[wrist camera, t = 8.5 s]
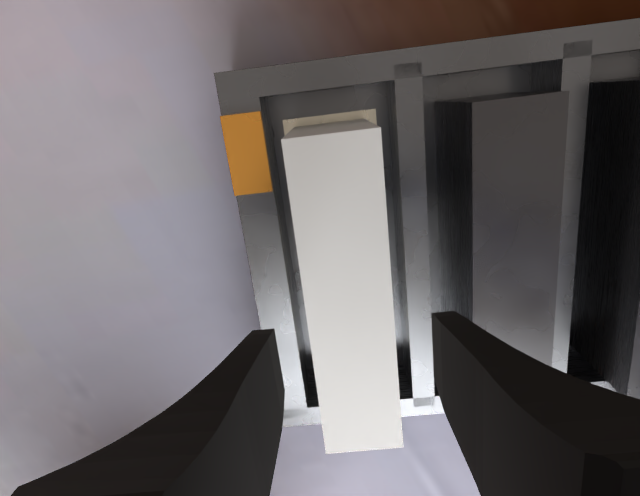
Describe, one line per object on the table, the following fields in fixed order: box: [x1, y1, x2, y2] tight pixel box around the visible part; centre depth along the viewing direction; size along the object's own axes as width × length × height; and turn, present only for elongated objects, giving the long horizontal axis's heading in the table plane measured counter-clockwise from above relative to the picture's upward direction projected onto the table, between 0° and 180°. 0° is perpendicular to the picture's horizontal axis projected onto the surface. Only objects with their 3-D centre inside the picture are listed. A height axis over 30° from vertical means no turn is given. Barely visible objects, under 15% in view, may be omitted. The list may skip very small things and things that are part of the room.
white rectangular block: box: [281, 118, 403, 454], centre depth 18 cm, size 12×3×6 cm, turn 7°
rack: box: [214, 18, 640, 427], centre depth 18 cm, size 16×20×6 cm
